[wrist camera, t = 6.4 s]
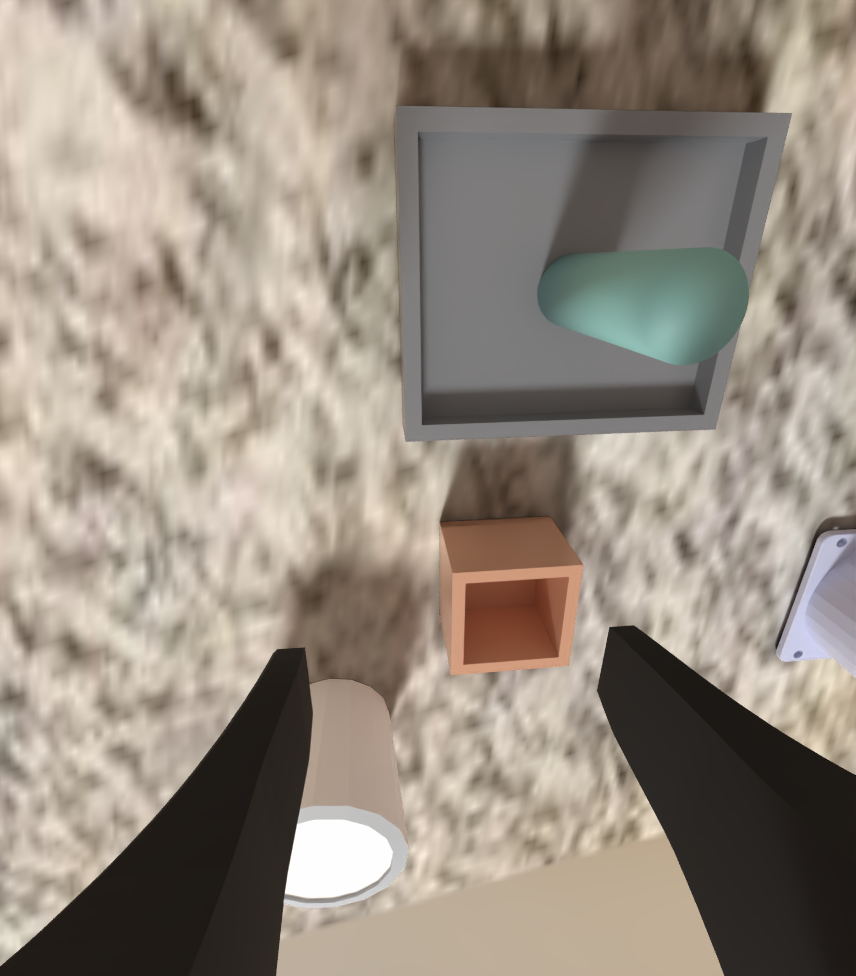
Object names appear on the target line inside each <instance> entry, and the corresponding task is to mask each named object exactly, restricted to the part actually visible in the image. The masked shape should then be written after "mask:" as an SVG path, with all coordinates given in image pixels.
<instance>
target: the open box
mask: <svg viewBox="0 0 856 976" xmlns="http://www.w3.org/2000/svg"><path fill="white" fill-rule="evenodd" d="M582 571H583V564H582V562H581V561H580V559H579V558H578V556H577V555H576V553H575V552H574V551H573V549H572V548H571V546H570V545H569V543H568V542H567V541H566V539H565V538H564V536H563V535H562V533H561V532H560V530H559V529H558V528H557V526H556V525H555V523H554V522H553V520H552V519H551V517H550V516H541V517H523V518H504V519H486V520H467V521H449V522H440V561H439V614H440V619H441V624H442V630H443V635H444V640H445V646H446V651H447V656H448V662H449V667H450V672H451V675H459V674H471V673H484V672H496V671H508V670H521V669H533V668H545V667H557V666H569V661H570V655H571V648H572V641H573V634H574V627H575V620H576V613H577V606H578V599H579V592H580V585H581V578H582Z"/></svg>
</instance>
